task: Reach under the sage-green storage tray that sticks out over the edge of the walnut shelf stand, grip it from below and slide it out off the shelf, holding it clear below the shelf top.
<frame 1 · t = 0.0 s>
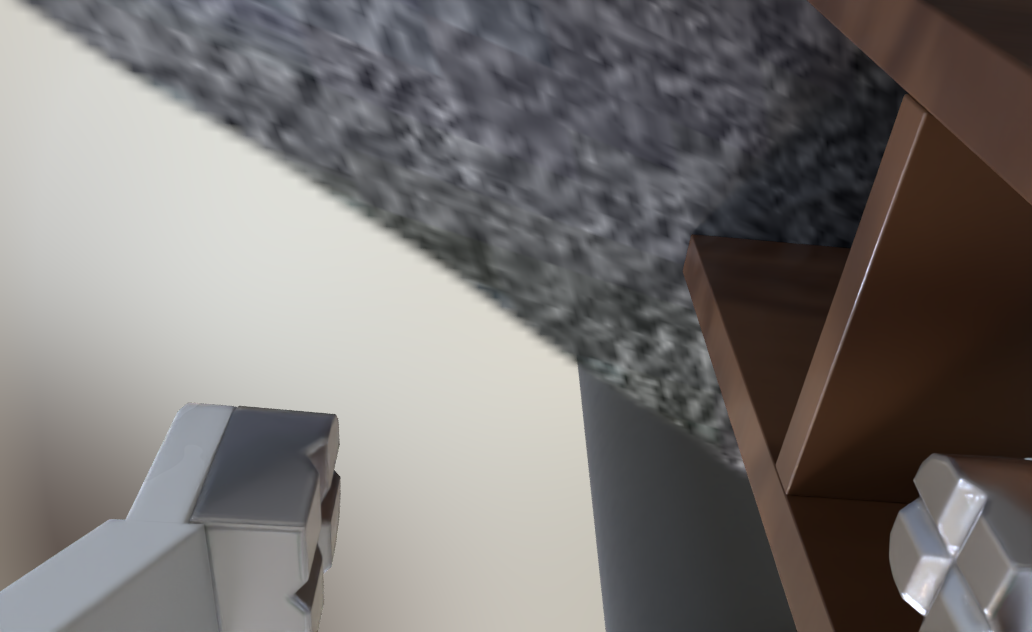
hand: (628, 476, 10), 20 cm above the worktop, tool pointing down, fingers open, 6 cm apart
shelf stand: (936, 128, 28), on the worktop
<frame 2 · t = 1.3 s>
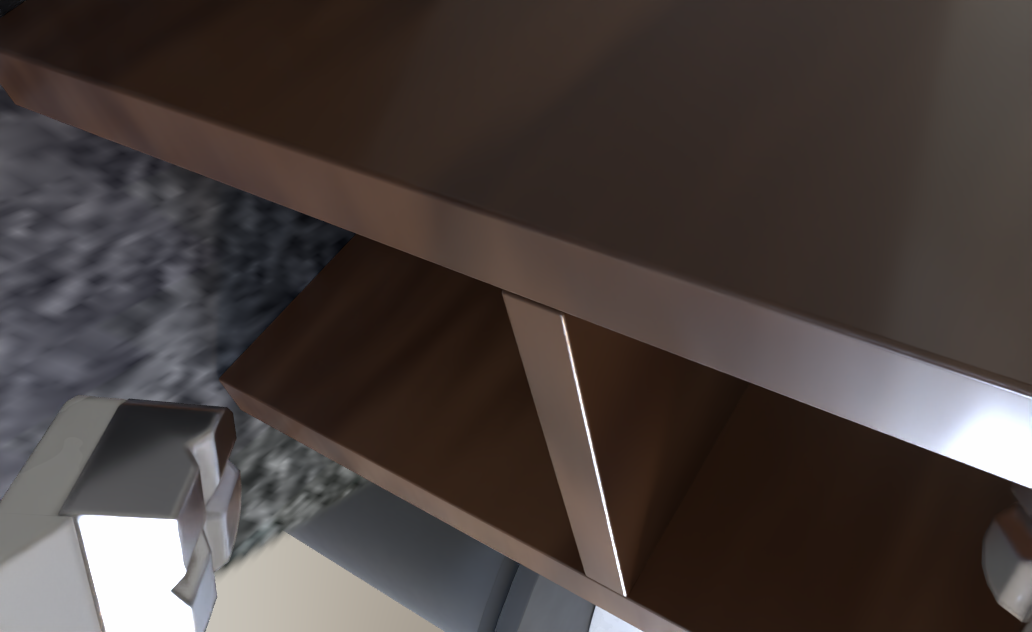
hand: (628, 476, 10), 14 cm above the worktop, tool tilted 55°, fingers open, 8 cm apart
shelf stand: (327, 87, 24), on the worktop
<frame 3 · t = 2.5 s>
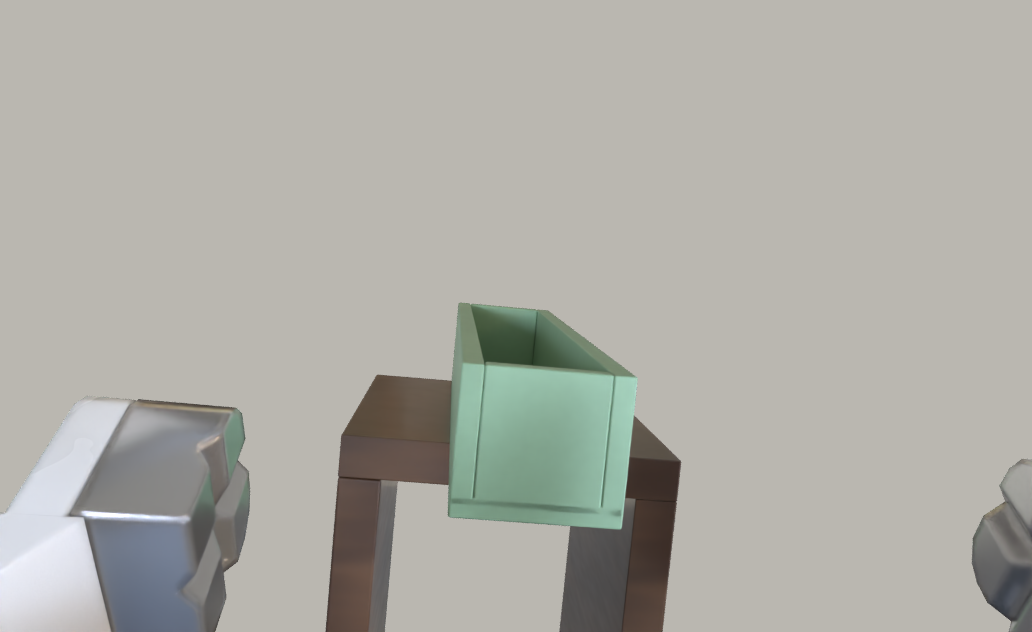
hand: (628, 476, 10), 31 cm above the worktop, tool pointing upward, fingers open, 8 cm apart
storage tray: (509, 432, 34), point 26 cm above the worktop, touching shelf stand
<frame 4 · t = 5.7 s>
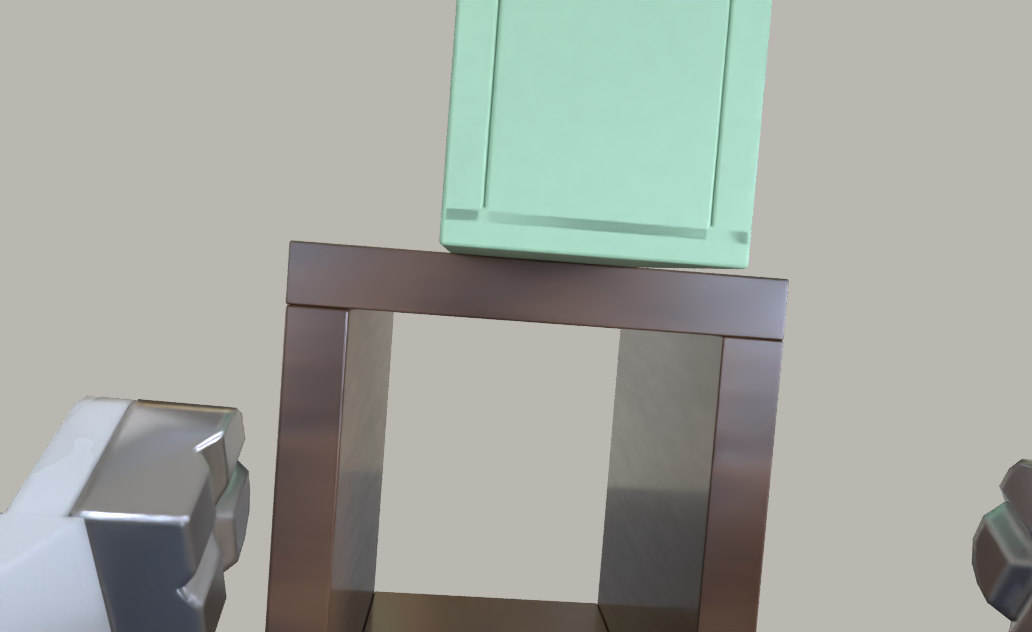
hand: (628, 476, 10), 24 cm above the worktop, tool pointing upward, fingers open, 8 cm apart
storage tray: (535, 260, 24), point 26 cm above the worktop, touching shelf stand
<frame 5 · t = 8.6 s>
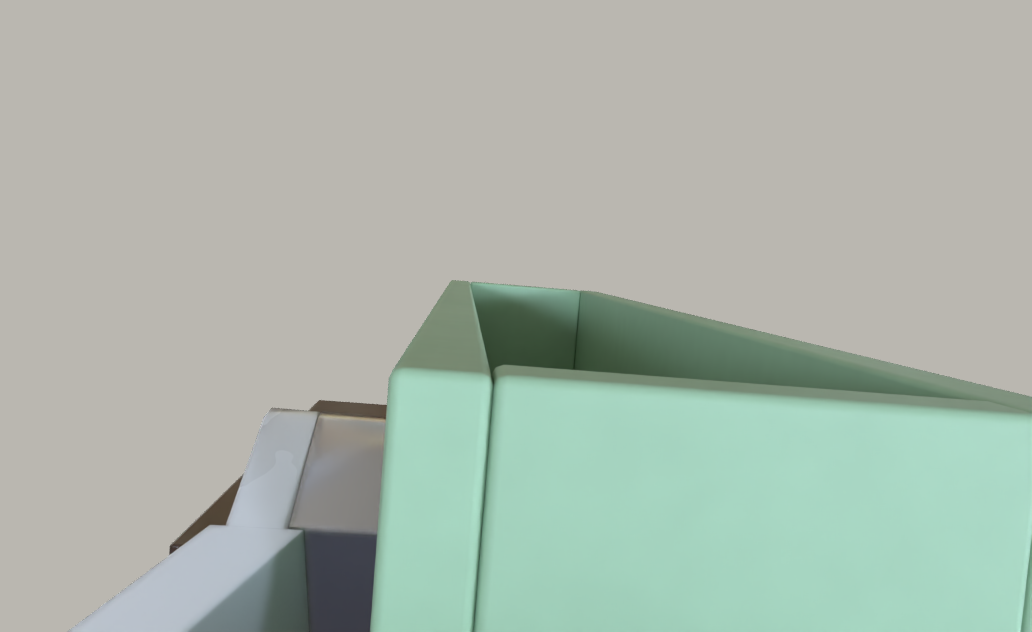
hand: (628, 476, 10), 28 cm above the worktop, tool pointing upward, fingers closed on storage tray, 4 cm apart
storage tray: (546, 521, 16), point 26 cm above the worktop, touching gripper, shelf stand
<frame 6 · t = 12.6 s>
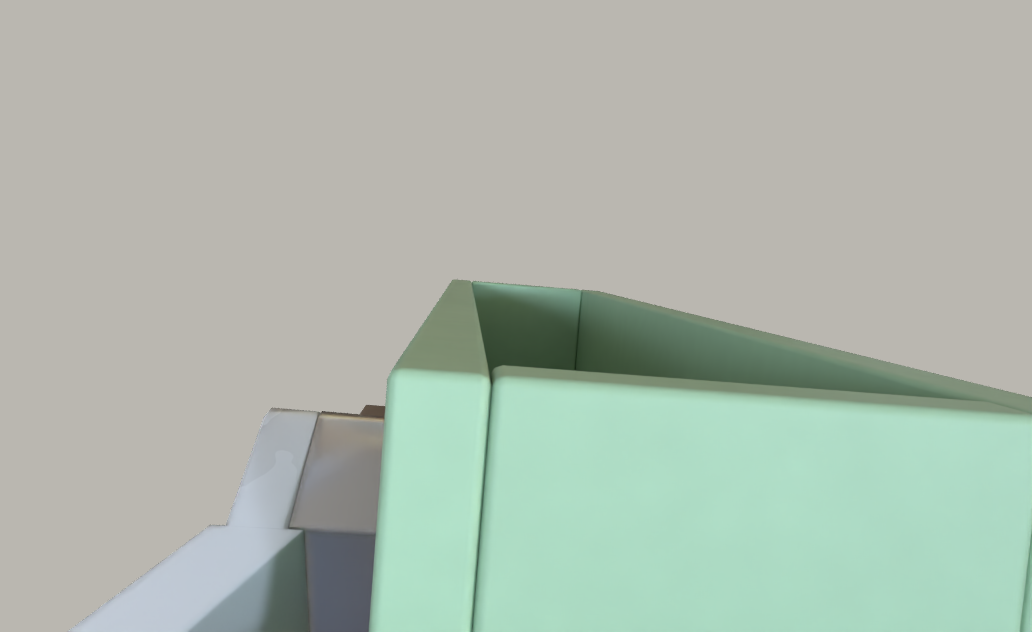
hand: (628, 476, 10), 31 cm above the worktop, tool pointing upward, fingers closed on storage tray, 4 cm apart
storage tray: (547, 520, 16), point 28 cm above the worktop, touching gripper
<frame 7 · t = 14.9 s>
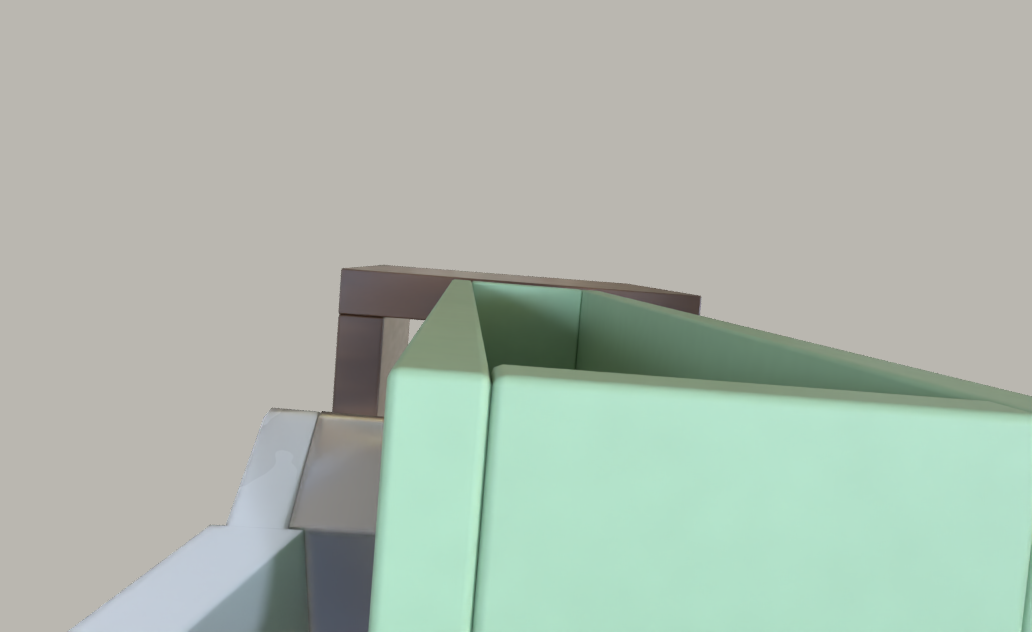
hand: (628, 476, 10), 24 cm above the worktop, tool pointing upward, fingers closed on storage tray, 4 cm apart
storage tray: (548, 520, 16), point 22 cm above the worktop, touching gripper
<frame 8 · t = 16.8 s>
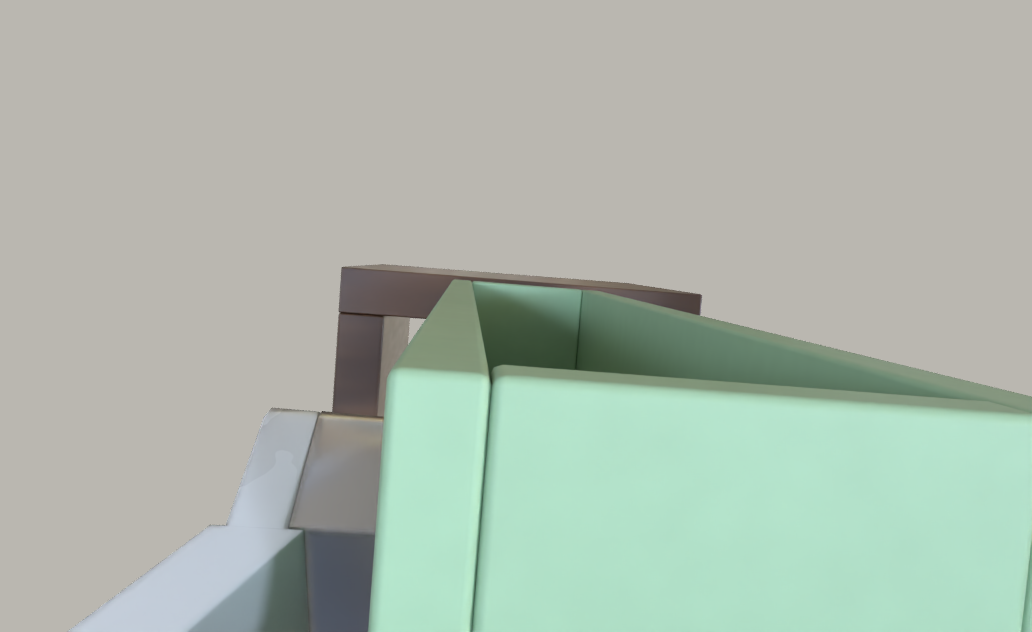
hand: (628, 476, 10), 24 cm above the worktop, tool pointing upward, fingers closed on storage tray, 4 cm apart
storage tray: (548, 520, 16), point 22 cm above the worktop, touching gripper
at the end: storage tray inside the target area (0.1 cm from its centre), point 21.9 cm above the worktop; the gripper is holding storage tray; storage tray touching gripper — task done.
